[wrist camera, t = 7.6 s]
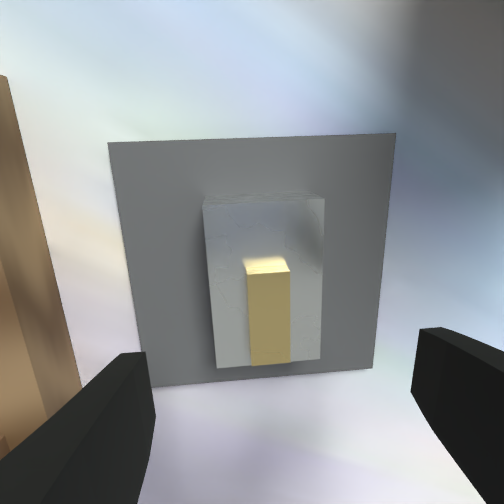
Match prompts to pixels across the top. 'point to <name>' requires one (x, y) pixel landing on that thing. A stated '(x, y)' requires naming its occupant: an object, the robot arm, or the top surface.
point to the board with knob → (27, 301)
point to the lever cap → (265, 276)
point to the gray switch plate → (194, 247)
